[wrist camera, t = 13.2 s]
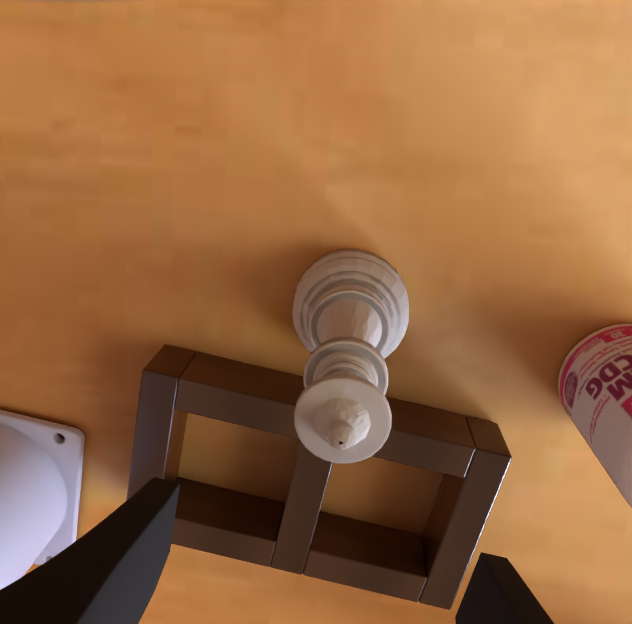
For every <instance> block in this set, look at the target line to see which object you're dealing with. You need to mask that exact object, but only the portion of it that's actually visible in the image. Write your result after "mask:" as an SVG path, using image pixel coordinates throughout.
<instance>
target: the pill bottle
mask: <svg viewBox="0 0 632 624" xmlns="http://www.w3.org/2000/svg"><path fill="white" fill-rule="evenodd" d="M558 391H559V396H560V400H561V402H562V405H563V407H564V409H565V410H566V412H567V414H568V415H569V417H570V418H571V420H572V421H573V423H574V424H575V426H576V427H577V429H578V430H579V432H580V433H581V435H582V436H583V438H584V439H585V440H586V442H587V444H588V445H589V447H590V448H591V449H592V451H593V452H594V454H595V455H596V457H597V458H598V460H599V461H600V463H601V464H602V466H603V467H604V469H605V470H606V472H607V473H608V475H609V476H610V478H611V479H612V480H613V482H614V484H615V485H616V486H617V488H618V489H619V491H620V493H621V494H622V496H623V497H624V498H625V500H626V501H627V503H628V504H629V505H630V506H631V507H632V324H618V325H612V326H608V327H605V328H602V329H600V330H598V331H595V332H594V333H592V334H590V335H588V336H587V337H586V338H584V339H583V340H581V341H580V342H579V343H578V344H577V345H576V346H575V347H574V348H573V349H572V350H571V351H570V352H569V354H568V355H567V357H566V358H565V360H564V362H563V364H562V366H561V369H560V373H559V379H558Z"/></svg>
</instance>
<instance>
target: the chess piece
mask: <svg viewBox="0 0 632 624" xmlns="http://www.w3.org/2000/svg"><path fill="white" fill-rule="evenodd" d="M293 323H294V326H295V329H296V332H297V335H298V337H299V339H300V340H301V342H302V343H303V345H304V346H305V348H306V349H307V350H308V351H310V352H311V354H310V356H309V357H308V359H307V361H306V365H305V369H304V373H303V380H304V387H305V390H303V392H302V393H301V395H300V397H299V399H298V400H297V403H296V407H295V411H294V423H295V428H296V431H297V434H298V437H299V439H300V440H301V442H302V443H303V444H304V446H305V447H306V448H307V449H308V450H309V451H310V452H312V453H313V454H314V455H316V456H318V457H320V458H322V459H324V460H326V461H330V462H334V463H354V462H359V461H362V460H364V459H367V458H369V457H371V456H372V455H374V454H375V453H376V452H377V451H378V450H380V449H381V448H382V446H383V445H384V443H385V442H386V440H387V439H388V436H389V433H390V430H391V423H392V413H391V409H390V406H389V403H388V400H387V399H386V397H385V396H384V395H385V393H386V390H387V387H388V369H387V366H386V362H385V360H384V358H386V357H387V356H388V355H389V354H391V353H392V352H393V351H394V350H395V349H396V348H397V347H398V345H399V344H400V342H401V340H402V339H403V337H404V336H405V332H406V329H407V326H408V323H409V300H408V296H407V292H406V288H405V284H404V282H403V280H402V279H401V277H400V275H399V274H398V272H397V270H396V269H395V268H394V267H392V266H391V265H390V264H389V263H388V262H387V261H386V260H385V259H383V258H381V257H379V256H377V255H376V254H374V253H371V252H367V251H363V250H359V249H343V250H339V251H336V252H332V253H329V254H327V255H325V256H323V257H322V258H320V259H318V260H317V261H315V262H314V263H313V264H312V265H311V266H310V267H309V268H308V269H307V270H306V271H305V273H304V275H303V277H302V278H301V280H300V282H299V284H298V286H297V289H296V294H295V298H294V304H293Z"/></svg>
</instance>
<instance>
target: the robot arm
mask: <svg viewBox="0 0 632 624" xmlns="http://www.w3.org/2000/svg"><path fill="white" fill-rule="evenodd" d="M58 433H59V434H61V435H63V436H64V438H65V439H63V438H60V436H59V435H58ZM84 443H85V437H84V434H83V433H82V431H80V430H79V429H77V428H75V427H71V426H67V425H62V424H58V423H54V422H50V421H46V420H41V419H37V418H33V417H29V416H25V415H20V414H16V413H12V412H8V411H4V410H0V624H138V623H139V621H140V619H141V617H142V615H143V613H144V611H145V609H146V607H147V605H148V603H149V601H150V599H151V597H152V595H153V593H154V591H155V588H156V586H157V583H158V581H159V578H160V576H161V573H162V570H163V568H164V565H165V562H166V560H167V557H168V554H169V552H170V547H171V540H172V533H173V527H174V520H175V514H176V507H177V501H178V494H179V488H180V483H179V482H174V481H170V480H166V479H161V478H157V477H154V478H152V479H151V480H149V481H148V482H147V483H146V484H145V485H144V486H143V487H142V488H140V489H139V490H138V491H137V492H136V493H135V494H134V495H133V496H132V497H130V498H129V499H128V500H127V501H126V502H125V503H123V504H122V505H121V506H120V507H119V508H118V509H116V510H115V511H114V512H113V513H112V514H110V515H109V516H108V517H107V518H105V519H104V520H103V521H101V522H100V523H99V524H98V525H96V526H95V527H94V528H93V529H91V530H90V531H89V532H88V533H86V534H85V535H84V536H82V537H81V538H79V539H78V540H77V541H76V535H77V524H78V512H79V501H80V489H81V478H82V466H83V455H84ZM51 556H52V557H53V558H52V557H51ZM32 564H37V565H41V566H39V567H37V568H36V569H34V570H33V571H31V572H30V573H28V574H26V575H25V576H24V574H25V573H26V572H27V570H28V569H29V568H30V566H31V565H32ZM455 619H456V624H554V623H553V621H552V620H551V619H550V617H549V616H548V615H547V613H546V612H545V610H544V609H543V608H542V606H541V605H540V603H539V602H538V601H537V599H536V598H535V596H534V595H533V594H532V592H531V591H530V589H529V588H528V587H527V585H526V584H525V582H524V581H523V580H522V578H521V577H520V575H519V574H518V573H517V571H516V570H515V568H514V567H513V566H512V564H511V563H510V562H509V560H508V559H507V558H504V557H499V556H495V555H491V554H486V553H482V552H481V554H480V556H479V559H478V561H477V564H476V566H475V569H474V572H473V574H472V577H471V579H470V582H469V584H468V587H467V589H466V592H465V594H464V597H463V599H462V602H461V604H460V607H459V609H458V612H457V614H456V617H455Z"/></svg>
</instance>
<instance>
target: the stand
mask: <svg viewBox="0 0 632 624" xmlns="http://www.w3.org/2000/svg"><path fill="white" fill-rule="evenodd" d="M303 390H305V387H304V380H303V377H301V376H297V375H292V374H288V373H284V372H280V371H275V370H271V369H267V368H263V367H259V366H254V365H250V364H246V363H242V362H238V361H233V360H229V359H225V358H221V357H217V356H212V355H208V354H204V353H200V352H198V353H197V352H195V351H191V350H187V349H183V348H178V347H174V346H170V345H164V346H163V347H162V348H161V350H160V351H159V352H158V353H157V354H156V355H155V356H154V357H153V358H152V360H151V361H150V362H149V363H148V364H147V365H146V366H145V367H144V369H143V370H142V378H141V386H140V395H139V403H138V411H137V419H136V427H135V435H134V443H133V452H132V460H131V468H130V476H129V484H128V492H127V500H128V499H129V498H130V497H132V496H133V495H134V494H135V493H136V492H137V491H138V490H139V489H140V488H142V487H143V486H144V485H145V484H146V483H147V482H148V481H149V480H151V479H152V478H154V477H157V478H161V479H166V480H170V481H174V482H179V483H180V488H179V494H178V501H177V507H176V514H175V520H174V527H173V533H172V540H171V544H175V545H180V546H184V547H188V548H192V549H196V550H200V551H205V552H209V553H213V554H217V555H221V556H225V557H230V558H234V559H238V560H242V561H246V562H250V563H255V564H259V565H263V566H267V567H270V566H271V567H272V568H276V569H280V570H284V571H288V572H292V573H296V574H303V575H305V576H310V577H314V578H318V579H322V580H326V581H330V582H335V583H339V584H343V585H347V586H351V587H355V588H360V589H364V590H368V591H372V592H376V593H380V594H385V595H389V596H393V597H397V598H401V599H405V600H410V601H414V602H418V601H419V602H420V603H423V604H427V605H431V606H435V607H439V608H444V609H448V610H450V609H451V607H452V605H453V602H454V600H455V597H456V595H457V592H458V590H459V587H460V585H461V582H462V580H463V577H464V575H465V572H466V570H467V567H468V565H469V563H470V560H471V558H472V555H473V553H474V550H475V548H476V545H477V543H478V540H479V538H480V535H481V533H482V530H483V528H484V525H485V523H486V520H487V518H488V515H489V513H490V511H491V508H492V506H493V503H494V501H495V498H496V496H497V493H498V491H499V488H500V486H501V483H502V481H503V478H504V476H505V473H506V471H507V468H508V466H509V463H510V461H511V458H512V456H511V454H510V452H509V449H508V447H507V445H506V442H505V440H504V438H503V436H502V433H501V431H500V429H499V426H498V424H496V423H493V422H489V421H485V420H481V419H476V418H472V417H468V416H466V417H465V416H464V415H460V414H456V413H452V412H448V411H443V410H439V409H435V408H431V407H426V406H422V405H418V404H414V403H410V402H405V401H401V400H397V399H393V398H389V397H386V399H387V400H388V403H389V406H390V409H391V413H392V423H391V430H390V433H389V436H388V439H387V440H386V442H385V443H384V445H383V446H382V448H381V449H380V450H378V451H377V452H376V453H375V454H374V455H372V456H373V457H377V458H382V459H386V460H390V461H394V462H398V463H403V464H407V465H411V466H415V467H419V468H424V469H428V470H432V471H436V472H440V473H445V474H444V477H443V480H442V483H441V486H440V488H439V491H438V494H437V497H436V500H435V502H434V505H433V508H432V511H431V513H430V516H429V519H428V522H427V525H426V527H425V530H424V533H423V536H422V538H421V536H419V535H415V534H411V533H407V532H402V531H398V530H394V529H390V528H386V527H381V526H377V525H373V524H369V523H365V522H361V521H356V520H352V519H348V518H344V517H340V516H335V515H331V514H327V513H323V512H320V508H321V505H322V501H323V497H324V494H325V490H326V486H327V483H328V479H329V475H330V472H331V468H332V464H333V462H330V461H326V460H324V459H322V458H320V457H318V456H316V455H314V454H313V453H312V452H310V451H309V450H308V449H307V448H306V447H305V446H304V444H303V443H302V442H301V440H300V441H299V445H298V450H297V454H296V458H295V462H294V466H293V470H292V474H291V478H290V482H289V486H288V491H287V495H286V499H285V503H282V502H278V501H273V500H269V499H265V498H261V497H257V496H252V495H248V494H244V493H240V492H236V491H232V490H227V489H223V488H219V487H215V486H211V485H206V484H202V483H198V482H194V481H190V480H186V479H181V478H177V475H178V469H179V463H180V456H181V450H182V444H183V437H184V431H185V425H186V419H187V412H188V413H192V414H196V415H200V416H205V417H209V418H213V419H217V420H221V421H226V422H230V423H234V424H238V425H242V426H247V427H251V428H255V429H259V430H263V431H268V432H272V433H276V434H280V435H284V436H289V437H293V438H297V439H299V437H298V434H297V431H296V428H295V423H294V411H295V407H296V403H297V400H298V399H299V397H300V395H301V393H302V392H303ZM127 500H126V501H127Z"/></svg>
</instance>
